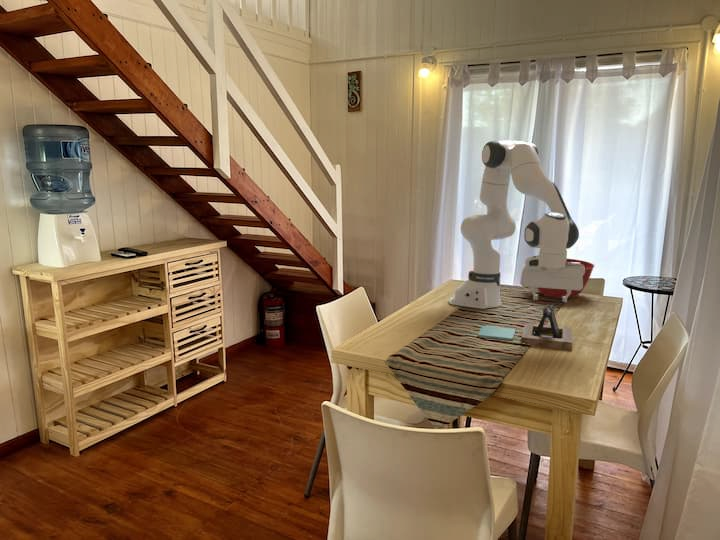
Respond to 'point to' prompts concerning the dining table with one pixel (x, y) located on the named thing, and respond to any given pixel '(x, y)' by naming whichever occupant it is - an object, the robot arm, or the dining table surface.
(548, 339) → the walnut holder
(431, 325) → the dining table surface
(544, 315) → the dark gray a-frame stand
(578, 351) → the dining table surface
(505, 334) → the teal mat
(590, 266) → the mixing bowl
